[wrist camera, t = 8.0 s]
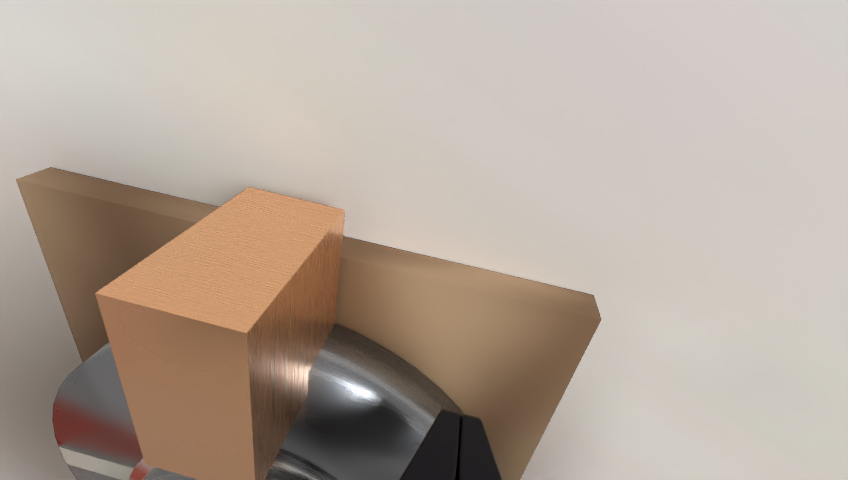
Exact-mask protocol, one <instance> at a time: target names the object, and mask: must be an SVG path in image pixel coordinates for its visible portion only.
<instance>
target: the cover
mask: <svg viewBox="0 0 848 480" xmlns="http://www.w3.org/2000/svg"><path fill="white" fill-rule="evenodd" d="M129 480H198V479H194V478H191V477H187V476H184V475H180V474H177V473H174V472H170V471H167V470H163V469H160V468H156V467H153V466H149V465H146V464H145V462H144V459H143V458H142V459H141V460H140V462H139V463H138V464H137V465H136V467H135V468H134V469H133V471H132V473H131V475H130V479H129ZM265 480H337V479H336V478H335V477H333V476H332V475H330V474H329V473H327V472H326V471H324V470H323V469H321V468H319V467H318V466H316V465H314V464H312V463H311V462H309V461H307V460H305V459H303V458H301V457H299V456H297V455H295V454H293V453H291V452H288V451H286V450H283V449H280V450H279V452H278V454H277V456H276V458H275V460H274V462H273V464H272V466H271V468H270V470H269V472H268V474H267V476H266V478H265Z"/></svg>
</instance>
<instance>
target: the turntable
mask: <svg viewBox="0 0 848 480" xmlns="http://www.w3.org/2000/svg"><path fill="white" fill-rule="evenodd" d="M344 218H345V210H342V209H338V208H334V207H329V206H325V205H321V204H317V203H313V202H309V201H305V200H301V199H297V198H292V197H288V196H284V195H280V194H276V193H272V192H268V191H264V190H260V189H255V188H251V187H248V188H247V189H245V190H244V191H243V192H241V193H240V194H238V195H237V196H235V197H234V198H232V199H231V200H229V201H228V202H227V203H225V204H224V205H222V206H221V207H219V208H218V209H216V210H215V211H213V212H212V213H211V214H209V215H208V216H206V217H205V218H203V219H202V220H200V221H199V222H198V223H196V224H195V225H193V226H192V227H190V228H189V229H187V230H186V231H184V232H183V233H182V234H180V235H179V236H177V237H176V238H174V239H173V240H171V241H170V242H168V243H167V244H166V245H164V246H163V247H161V248H160V249H158V250H157V251H155V252H154V253H152V254H151V255H150V256H148V257H147V258H145V259H144V260H142V261H141V262H139V263H138V264H137V265H135V266H134V267H132V268H131V269H129V270H128V271H126V272H125V273H123V274H122V275H121V276H119V277H118V278H116V279H115V280H113V281H112V282H110V283H109V284H107V285H106V286H105V287H103V288H102V289H100V290H99V291H97V292H96V293H95V295H96V298H97V301H98V305H99V308H100V312H101V315H102V318H103V322H104V325H105V329H106V332H107V336H108V339H109V342H108V343H107V344H105V345H104V346H103V347H102V348H101V349H99V350H98V351H97V352H96V353H95V354H93V355H92V356H91V357H90V358H89V359H87V360H86V361H85V362H84V363H83V364H81V365H80V366H79V367H78V368H77V369H75V370H74V371H73V372H72V373H71V374H69V375H68V377H67V378H66V379H65V381H64V382H63V384H62V385H61V387H60V388H59V390H58V393H57V395H56V398H55V401H54V404H53V426H54V432H55V437H56V440H57V443H58V445H59V448H60V451H61V453H62V455H63V457H64V459H65V461H66V464H68V466H69V468H70V470H71V471H72V473H73V474H74V475H75V477H76V478H77V480H129V479H130V475H131V473H132V471H133V469H134V468H135V467H136V465H137V464H138V463H139V462H140V460H141V459H142V458H143V459H144V462H145V464H146V465H149V466H153V467H156V468H160V469H163V470H167V471H170V472H174V473H177V474H180V475H184V476H187V477H191V478H194V479H198V480H265V478H266V476H267V474H268V472H269V470H270V468H271V466H272V464H273V462H274V460H275V458H276V456H277V454H278V452H279V450H280V449H283V450H286V451H288V452H291V453H293V454H295V455H297V456H299V457H301V458H303V459H305V460H307V461H309V462H311V463H312V464H314V465H316V466H318V467H319V468H321V469H323V470H324V471H326V472H327V473H329V474H330V475H332V476H333V477H335V478H336V479H337V480H399V479H400V478H401V476H402V474H403V473H404V471H405V469H406V468H407V466H408V464H409V463H410V461H411V459H412V458H413V456H414V454H415V452H416V451H417V449H418V447H419V446H420V444H421V442H422V441H423V439H424V437H425V436H426V434H427V432H428V431H429V429H430V427H431V426H432V424H433V422H434V421H435V419H436V417H437V416H438V414H439V412H440V411H441V410H442V409H448V410H452V411H456V412H458V413H460V415H462V414H464V413H463V411H462V410H461V409H460V408H459V407H458V406H457V405H456V404H455V402H454V401H453V400H452V399H451V398H450V397H449V396H448V395H447V394H446V393H445V392H444V391H443V390H442V389H441V388H440V387H439V386H438V385H436V384H435V383H434V382H433V381H432V380H430V379H429V378H428V377H427V376H426V375H424V374H423V373H422V372H421V371H420V370H418V369H417V368H416V367H414V366H413V365H411V364H410V363H408V362H407V361H405V360H404V359H402V358H401V357H399V356H398V355H396V354H395V353H393V352H392V351H390V350H388V349H387V348H385V347H383V346H381V345H379V344H377V343H375V342H374V341H372V340H370V339H368V338H366V337H364V336H362V335H360V334H358V333H356V332H354V331H351V330H349V329H346V328H344V327H342V326H339V325H337V324H335V317H336V306H337V295H338V284H339V273H340V262H341V251H342V240H343V229H344Z"/></svg>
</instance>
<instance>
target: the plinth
mask: <svg viewBox="0 0 848 480" xmlns="http://www.w3.org/2000/svg"><path fill="white" fill-rule="evenodd" d="M16 181H17V184H18V186H19V189H20V192H21V195H22V197H23V200H24V203H25V206H26V208H27V211H28V214H29V217H30V219H31V222H32V225H33V227H34V230H35V233H36V236H37V238H38V241H39V244H40V247H41V249H42V252H43V255H44V258H45V260H46V263H47V266H48V268H49V271H50V274H51V277H52V279H53V282H54V285H55V288H56V290H57V293H58V296H59V299H60V301H61V304H62V307H63V310H64V312H65V315H66V318H67V320H68V323H69V326H70V329H71V331H72V334H73V337H74V340H75V342H76V345H77V348H78V351H79V353H80V356H81V359H82V361H83V363H84V362H85V361H86V360H87V359H89V358H90V357H91V356H92V355H93V354H95V353H96V352H97V351H98V350H99V349H101V348H102V347H103V346H104V345H105V344H107V343H108V342H109V339H108V336H107V332H106V329H105V325H104V322H103V318H102V315H101V312H100V308H99V305H98V301H97V298H96V295H95V293H96V292H97V291H99V290H100V289H102V288H103V287H105V286H106V285H107V284H109V283H110V282H112V281H113V280H115V279H116V278H118V277H119V276H121V275H122V274H123V273H125V272H126V271H128V270H129V269H131V268H132V267H134V266H135V265H137V264H138V263H139V262H141V261H142V260H144V259H145V258H147V257H148V256H150V255H151V254H152V253H154V252H155V251H157V250H158V249H160V248H161V247H163V246H164V245H166V244H167V243H168V242H170V241H171V240H173V239H174V238H176V237H177V236H179V235H180V234H182V233H183V232H184V231H186V230H187V229H189V228H190V227H192V226H193V225H195V224H196V223H198V222H199V221H200V220H202V219H203V218H205V217H206V216H208V215H209V214H211V213H212V212H213V211H215V210H216V209H218V208H219V207H217V206H212V205H208V204H204V203H200V202H195V201H191V200H187V199H183V198H178V197H174V196H170V195H166V194H162V193H157V192H153V191H149V190H145V189H140V188H136V187H132V186H128V185H123V184H119V183H115V182H111V181H106V180H102V179H98V178H94V177H89V176H85V175H81V174H77V173H72V172H68V171H64V170H60V169H55V168H51V167H50V168H48V169H45V170H42V171H39V172H36V173H33V174H30V175H27V176H24V177H21V178H19V179H16ZM600 321H601V317H600V314H599V310H598V307H597V304H596V301H595V298H594V295H590V294H586V293H582V292H577V291H573V290H569V289H565V288H560V287H556V286H552V285H548V284H543V283H539V282H535V281H531V280H526V279H522V278H518V277H514V276H509V275H505V274H501V273H497V272H493V271H488V270H484V269H480V268H476V267H471V266H467V265H463V264H459V263H454V262H450V261H446V260H442V259H437V258H433V257H429V256H425V255H420V254H416V253H412V252H408V251H403V250H399V249H395V248H391V247H386V246H382V245H378V244H374V243H369V242H365V241H361V240H357V239H352V238H348V237H344V236H343V240H342V251H341V262H340V273H339V284H338V295H337V306H336V317H335V324H337V325H339V326H342V327H344V328H346V329H349V330H351V331H354V332H356V333H358V334H360V335H362V336H364V337H366V338H368V339H370V340H372V341H374V342H375V343H377V344H379V345H381V346H383V347H385V348H387V349H388V350H390V351H392V352H393V353H395V354H396V355H398V356H399V357H401V358H402V359H404V360H405V361H407V362H408V363H410V364H411V365H413V366H414V367H416V368H417V369H418V370H420V371H421V372H422V373H423V374H424V375H426V376H427V377H428V378H429V379H430V380H432V381H433V382H434V383H435V384H436V385H438V386H439V387H440V388H441V389H442V390H443V391H444V392H445V393H446V394H447V395H448V396H449V397H450V398H451V399H452V400H453V401H454V402H455V404H456V405H457V406H458V407H459V408H460V409H461V410H462V411H463V413H464V414H467V415H471V416H475V417H478V418H480V419H481V421H482V423H483V425H484V428H485V431H486V434H487V437H488V440H489V442H490V445H491V448H492V451H493V454H494V457H495V459H496V462H497V465H498V468H499V471H500V474H501V476H502V479H503V480H520V478H521V476H522V474H523V472H524V470H525V468H526V466H527V464H528V462H529V461H530V459H531V457H532V455H533V453H534V451H535V449H536V447H537V445H538V443H539V441H540V439H541V437H542V435H543V433H544V431H545V429H546V427H547V425H548V423H549V421H550V419H551V417H552V415H553V413H554V411H555V409H556V407H557V406H558V404H559V402H560V400H561V398H562V396H563V394H564V392H565V390H566V388H567V386H568V384H569V382H570V380H571V378H572V376H573V374H574V372H575V370H576V368H577V366H578V364H579V362H580V360H581V358H582V356H583V354H584V352H585V350H586V349H587V347H588V345H589V343H590V341H591V339H592V337H593V335H594V333H595V331H596V329H597V327H598V325H599V323H600Z"/></svg>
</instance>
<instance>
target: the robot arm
mask: <svg viewBox="0 0 848 480" xmlns="http://www.w3.org/2000/svg"><path fill="white" fill-rule="evenodd" d="M399 480H503V479H502V476H501V474H500V471H499V468H498V465H497V462H496V459H495V457H494V454H493V451H492V448H491V445H490V442H489V440H488V437H487V434H486V431H485V428H484V425H483V423H482V421H481V419H480V418H478V417H475V416H471V415H467V414H462V415H460V413H458V412H456V411H452V410H448V409H442V410H441V411H440V412H439V414H438V416H437V417H436V419H435V421H434V422H433V424H432V426H431V427H430V429H429V431H428V432H427V434H426V436H425V437H424V439H423V441H422V442H421V444H420V446H419V447H418V449H417V451H416V452H415V454H414V456H413V458H412V459H411V461H410V463H409V464H408V466H407V468H406V469H405V471H404V473H403V474H402V476H401V478H400V479H399Z"/></svg>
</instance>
